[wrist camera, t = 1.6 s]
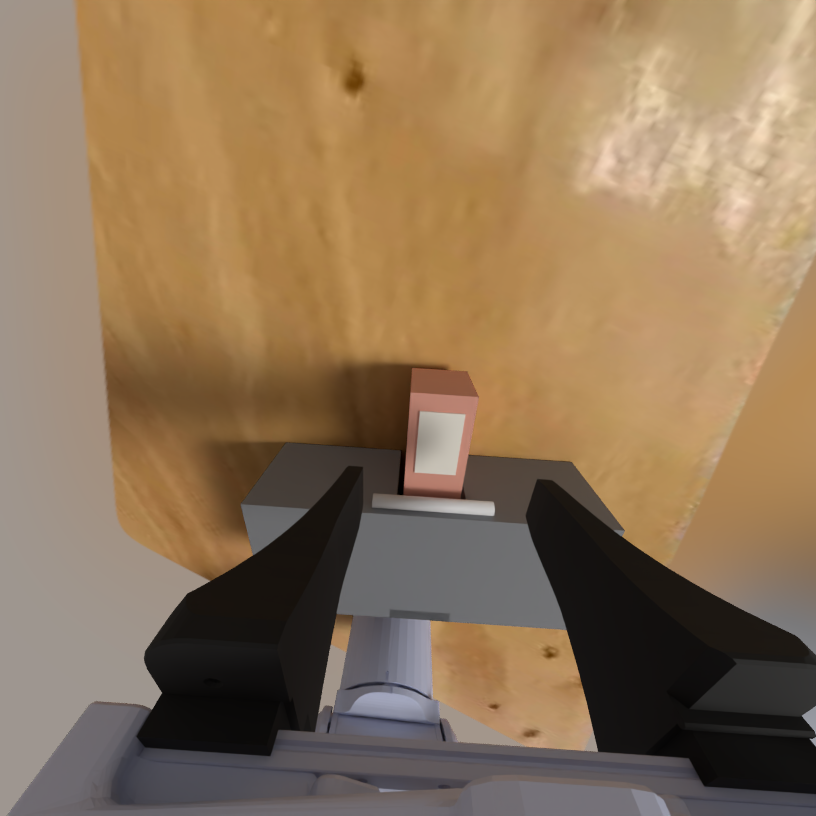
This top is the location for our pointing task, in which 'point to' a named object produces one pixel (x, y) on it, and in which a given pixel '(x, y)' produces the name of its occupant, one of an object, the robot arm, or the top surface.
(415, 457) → the pink labelled block
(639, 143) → the top surface
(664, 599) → the robot arm
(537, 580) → the dispenser
